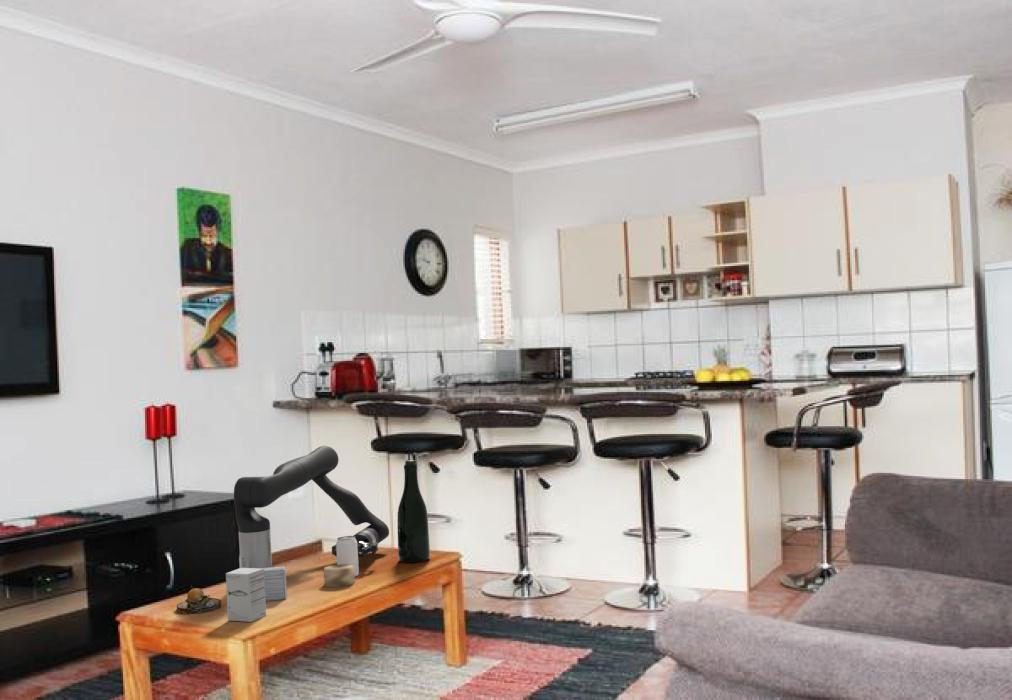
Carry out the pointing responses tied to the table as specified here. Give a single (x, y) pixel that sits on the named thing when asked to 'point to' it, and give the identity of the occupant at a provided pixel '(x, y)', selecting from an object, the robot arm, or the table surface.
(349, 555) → the can
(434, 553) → the table surface
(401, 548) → the dark green wine bottle
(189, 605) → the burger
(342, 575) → the grey rounded block
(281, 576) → the medicine box
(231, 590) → the supplement box
